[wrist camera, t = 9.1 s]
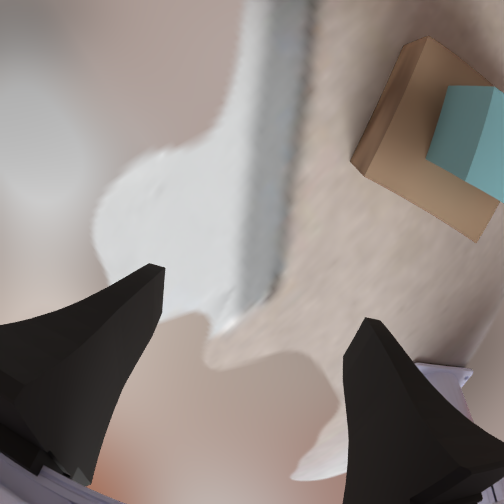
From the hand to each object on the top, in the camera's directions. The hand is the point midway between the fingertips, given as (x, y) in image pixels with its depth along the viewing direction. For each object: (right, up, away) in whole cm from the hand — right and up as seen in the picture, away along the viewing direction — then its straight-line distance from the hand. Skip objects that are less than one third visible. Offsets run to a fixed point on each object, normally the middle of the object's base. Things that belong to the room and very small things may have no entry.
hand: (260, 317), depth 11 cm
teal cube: (+10, +8, +1) cm, 13 cm away
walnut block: (+11, +9, +5) cm, 15 cm away
